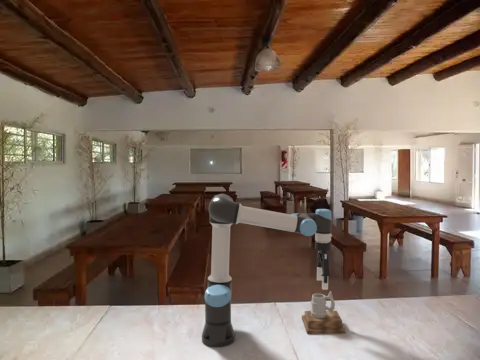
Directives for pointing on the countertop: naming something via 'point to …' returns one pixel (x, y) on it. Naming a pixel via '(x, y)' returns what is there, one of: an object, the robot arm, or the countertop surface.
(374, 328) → the countertop surface
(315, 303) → the mug
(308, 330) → the plinth
